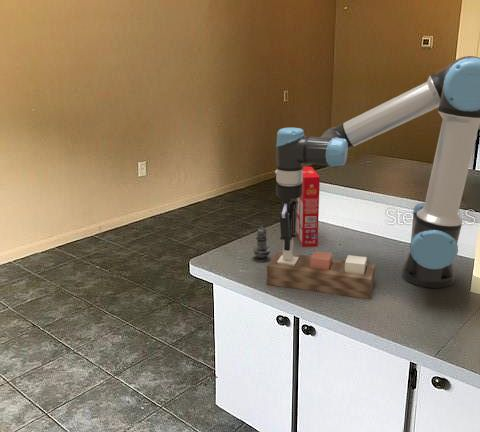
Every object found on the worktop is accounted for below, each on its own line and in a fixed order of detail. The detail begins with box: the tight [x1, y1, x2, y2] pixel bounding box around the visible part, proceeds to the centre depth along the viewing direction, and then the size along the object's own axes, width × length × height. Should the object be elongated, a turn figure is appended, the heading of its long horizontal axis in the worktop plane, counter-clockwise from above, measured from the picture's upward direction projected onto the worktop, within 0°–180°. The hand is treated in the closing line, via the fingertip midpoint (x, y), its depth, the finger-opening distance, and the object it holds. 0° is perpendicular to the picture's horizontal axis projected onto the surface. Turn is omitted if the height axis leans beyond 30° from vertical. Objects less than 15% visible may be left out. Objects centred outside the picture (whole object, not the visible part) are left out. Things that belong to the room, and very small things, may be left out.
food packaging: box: [295, 166, 321, 248], centre depth 190 cm, size 15×5×25 cm, turn 3°
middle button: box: [310, 250, 333, 270], centre depth 157 cm, size 5×5×4 cm
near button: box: [345, 254, 368, 275], centre depth 154 cm, size 5×5×4 cm
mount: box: [266, 251, 376, 300], centre depth 159 cm, size 30×11×6 cm, turn 71°
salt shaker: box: [252, 224, 271, 263], centre depth 175 cm, size 6×6×12 cm
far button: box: [277, 255, 299, 266], centre depth 161 cm, size 5×5×4 cm
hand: (287, 258), depth 161 cm, fingers closed
